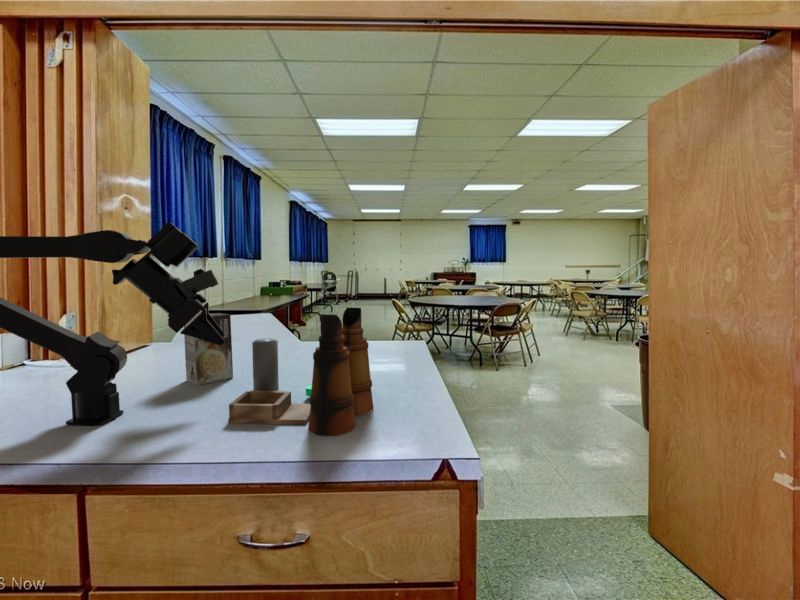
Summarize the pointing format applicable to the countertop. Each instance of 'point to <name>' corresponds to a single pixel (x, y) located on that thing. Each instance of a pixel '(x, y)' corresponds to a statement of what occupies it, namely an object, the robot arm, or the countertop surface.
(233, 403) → the brown square-cornered frame
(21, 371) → the countertop surface
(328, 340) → the binoculars
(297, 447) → the countertop surface
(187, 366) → the coffee box
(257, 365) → the grey round-topped cylinder
